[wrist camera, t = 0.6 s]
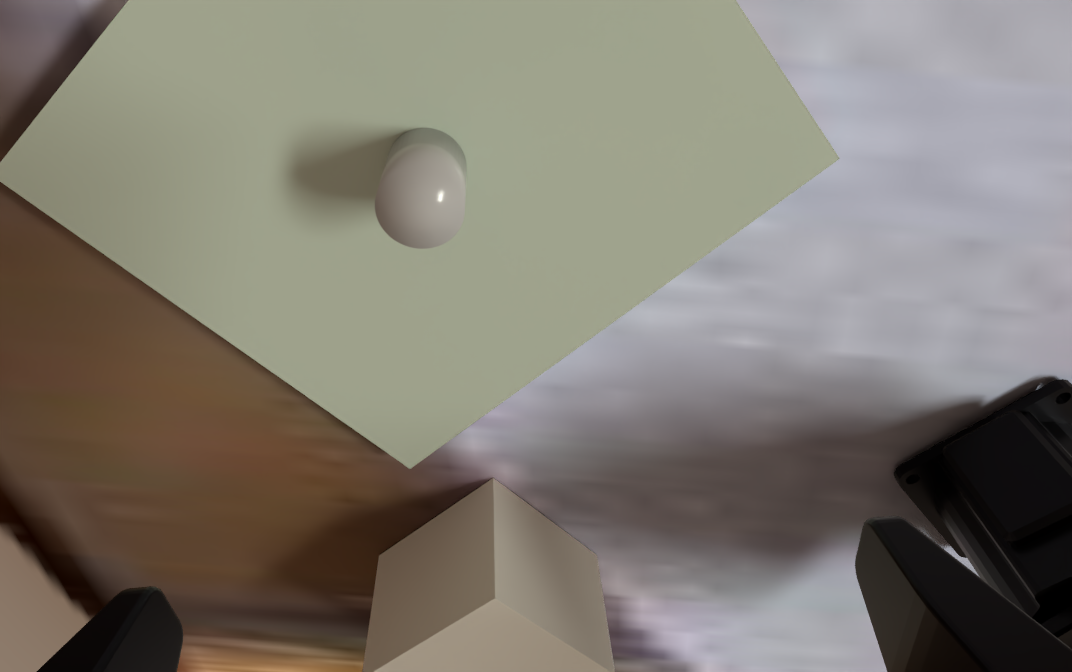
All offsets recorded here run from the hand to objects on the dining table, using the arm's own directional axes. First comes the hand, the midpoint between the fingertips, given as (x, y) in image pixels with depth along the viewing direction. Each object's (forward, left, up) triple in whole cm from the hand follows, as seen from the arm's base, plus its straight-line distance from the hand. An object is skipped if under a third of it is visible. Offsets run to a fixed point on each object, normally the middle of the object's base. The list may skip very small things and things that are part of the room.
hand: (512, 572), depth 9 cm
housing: (-11, +11, -13) cm, 20 cm away
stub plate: (+2, +1, -13) cm, 13 cm away
